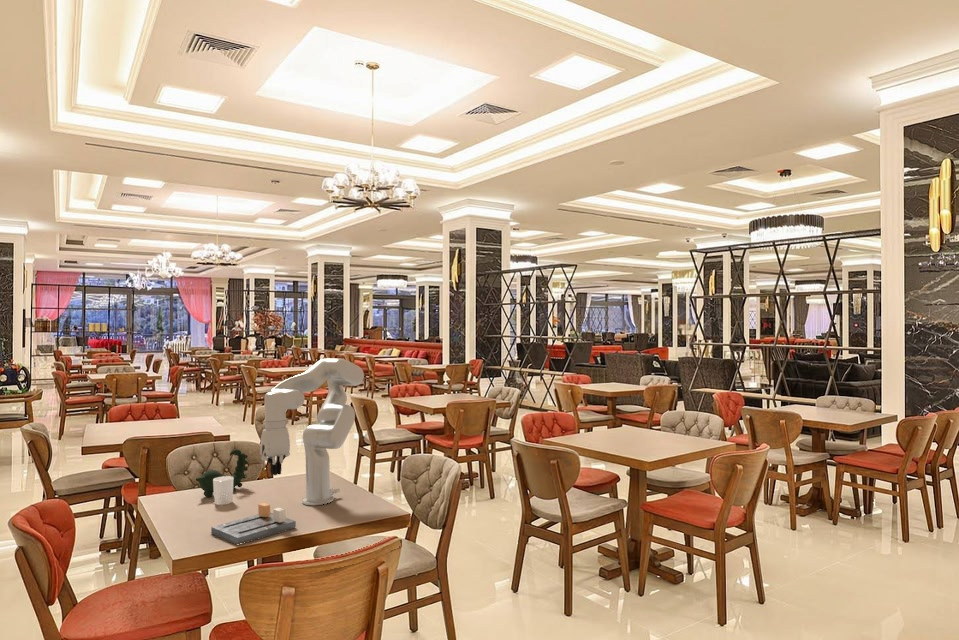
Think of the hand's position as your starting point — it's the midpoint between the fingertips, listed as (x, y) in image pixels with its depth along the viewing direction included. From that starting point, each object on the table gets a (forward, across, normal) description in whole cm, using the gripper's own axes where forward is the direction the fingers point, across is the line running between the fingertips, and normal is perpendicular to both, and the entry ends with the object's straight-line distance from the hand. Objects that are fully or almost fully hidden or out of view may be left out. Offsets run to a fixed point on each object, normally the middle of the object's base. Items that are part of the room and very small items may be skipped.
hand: (276, 474), depth 232 cm
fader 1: (+15, +5, 0) cm, 16 cm away
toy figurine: (+17, -6, -53) cm, 56 cm away
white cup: (+17, +1, -38) cm, 42 cm away
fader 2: (+15, +5, +10) cm, 19 cm away
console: (+17, +12, +5) cm, 21 cm away
